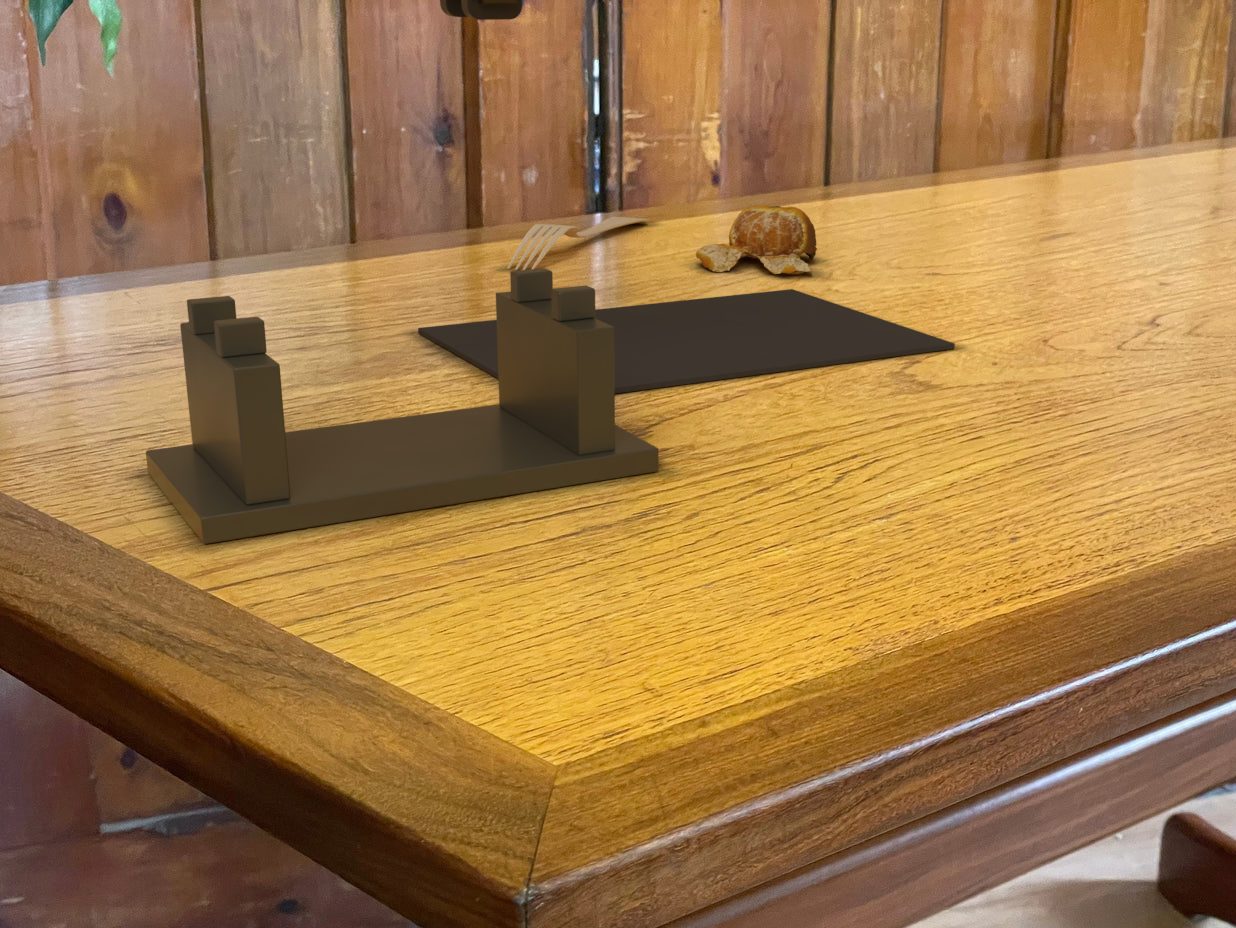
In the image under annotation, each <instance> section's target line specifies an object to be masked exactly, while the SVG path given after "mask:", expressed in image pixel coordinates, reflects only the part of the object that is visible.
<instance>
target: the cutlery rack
mask: <svg viewBox="0 0 1236 928" xmlns="http://www.w3.org/2000/svg"><path fill="white" fill-rule="evenodd" d="M509 274H510V275H509V276H510V279H509V281H510V291H501V292H500V291H499V292H495V312H496V313H495V314H496V320H497V347H498V377H499V379H498V404H489V405H484V406H474V407H468V408H467V407H466V408H460V409H459V408H458V409H454V410H445V411H444V410H443V411H437V412H430V413H423V414H422V413H421V414H413V415H407V416H400V417H398V416H397V417H391V418H385V419H377V420H376V419H375V420H367V421H362V422H353V423H347V424H338V425H330V426H322V427H315V428H308V429H300V430H292V431H286V425H285V424H286V423H285V412H284V402H283V389H282V378H281V364H280V363H279V362H277V361H276V360H274V359H273V358H272V357H271V356H269V355H268V354H267V351H268V350H267V339H266V326H265V321H264V320H263V319H262V318H260V317H259V316H250V317H249V316H247V317H238V318H237V309H236V308H237V307H236V300H235V299H234V298H233V297H231V296H230V295H224V296H223V295H222V296H212V297H201V298H189V299H187V300H186V307H187V317H188V318H187V319H188V321H187V322H181V323H180V337H181V345H182V355H183V365H184V374H185V384H186V393H187V394H186V395H187V405H188V412H189V413H188V415H189V423H190V433H191V443H192V444H185V445H177V446H171V447H162V448H153V449H147V450H145V459H146V468H147V474H148V475H149V477H150V478H151V479H152V480H153V482H154V483H155V484H156V486H157V487H158V488H159V489H160V491H161V492H162V493H163V494H164V496H165V497H166V498H167V499H168V501H169V502H170V504H172V506H173V507H174V508H175V509H176V510H177V512H178V513H179V514H180V516H181V517H182V518H183V520H184V521H185V522H186V523H187V525H188V526H189V527H190V528H191V529H192V531H193V532H194V533H195V535H196V536H197V537H198V539H199V540H200V541H201V542H202V543H203V544H204V545H207V544H214V543H220V542H227V541H233V540H238V539H246V538H251V537H258V536H265V535H270V534H277V533H283V532H290V531H296V530H302V529H308V528H314V527H320V526H326V525H327V526H328V525H333V524H338V523H345V522H346V523H347V522H351V521H358V520H365V519H369V518H376V517H383V516H388V515H393V514H400V513H407V512H413V511H419V510H425V509H426V510H427V509H430V508H439V507H444V506H450V505H458V504H462V503H468V502H469V503H471V502H477V501H482V500H488V499H494V498H501V497H506V496H513V495H519V494H526V493H532V492H537V491H538V492H539V491H544V490H549V489H551V490H552V489H558V488H563V487H568V486H569V487H570V486H574V485H582V484H587V483H595V482H601V481H607V480H613V479H618V478H619V479H620V478H625V477H629V476H630V477H631V476H637V475H645V474H649V473H656V472H657V473H658V471H659V448H658V447H657V446H655V445H653V444H651V443H650V442H648V441H646V440H644V439H642V438H640V437H639V436H637V435H634V434H633V433H632V432H630V431H628V430H626V429H624V428H623V427H620V426H619V425H617V424H616V400H615V399H616V394H615V375H614V327H613V326H611V325H608V324H606V323H604V322H602V321H599V320H597V319H595V310H596V289H595V288H594V287H591V286H589V285H576V286H566V287H565V286H564V287H555V288H554V286H553V281H554V280H553V271H552V270H550V269H548V268H545V267H543V268H540V267H539V268H534V269H531V268H528V269H525V270H523V269H519V270H518V269H517V270H512V271H511V270H510V272H509Z"/></svg>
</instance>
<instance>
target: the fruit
mask: <svg viewBox="0 0 1236 928" xmlns="http://www.w3.org/2000/svg"><path fill="white" fill-rule="evenodd" d="M728 240H729V243H712V244H711V243H710V244H706V245H703V246H701V247H700V248H699V249H698V250H697V251H696V252H695V256H696V258H697V259H699V261H701V264H702V266H703V267H704V268H707V269H708V270H709V271H712V272H717V273H723V272H726V271H728V272H730V269H732V268H733V267H734V266H735V265H736V264H737V263H739V259H740V258H741V255H743V254H744V255H746V256H747V258H750V257H751V258H752V259H758V260H760V263H762V264H763V267H764V268H766V269H767V270H768V271H769V272H770V273H772V274H773V275H777V274H778V275H779V274H781V273H783V274H787V275H801V274H803V273H808V272H811V273H813V272H814V269H813V268H812V267H810V265H809V263H807V262H805V260H802V259H801V256H802V255H803V254H805V255H806V256H807V257H808V260H813V259H814V258H815V256H816V254H817V253H816V252H817V250H818V247H817V237H816V229H815V226H814V223H813V222H812V221H811V219H810V217H809V216H808V215H807V214H806V212H805V211H803V210H802V209H801V208H798V207H795V206H780V205H753V206H748V207H746V208H744V209H742V211H740V213H738V215H737V217H736V218H735V220H734V221H733V223H732V226H731V227H730V230H729V234H728Z"/></svg>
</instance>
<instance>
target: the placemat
mask: <svg viewBox="0 0 1236 928" xmlns="http://www.w3.org/2000/svg"><path fill="white" fill-rule="evenodd" d="M595 319H597V320H599V321H602V322H604V323H606V324H608V325H611V326H613V327H614V375H615V395H616V394H622V393H623V394H624V393H630V392H631V393H632V392H638V391H644V390H645V391H647V390H653V389H661V388H669V387H675V386H683V385H691V384H699V383H706V382H713V381H714V382H715V381H721V380H722V381H723V380H729V379H736V378H743V377H744V378H745V377H751V376H752V377H753V376H758V375H767V374H774V373H781V372H789V371H797V370H805V369H812V368H820V367H825V366H826V367H828V366H835V365H840V364H841V365H842V364H849V363H858V362H864V361H872V360H873V361H874V360H880V359H887V358H894V357H902V356H910V355H916V354H917V355H918V354H925V353H932V352H941V351H947V350H955V347H956V346H955V342H951V341H949V340H945V339H942V338H939V337H937V336H933V335H930V334H927V333H925V332H922V331H918V330H916V329H913V328H911V327H910V328H909V327H908V326H904V325H901V324H898V323H894V322H892V321H888V320H885V319H882V318H879V317H877V316H874V315H871V314H868V313H865V312H861V311H859V310H855V309H853V308H849V307H847V306H844V305H840V304H837V303H835V302H832V301H829V300H826V299H823V298H820V297H817V296H814V295H812V294H811V295H810V294H807V293H805V292H802V291H800V290H799V291H798V290H795V289H793V288H789V289H781V290H780V289H779V290H770V291H761V292H754V293H753V292H752V293H751V292H750V293H742V294H741V293H740V294H734V295H733V294H732V295H722V296H713V297H704V298H703V297H702V298H693V299H683V300H674V301H665V302H655V303H646V304H645V303H644V304H637V305H636V304H634V305H626V306H617V307H607V308H597V309H596V308H595ZM417 333H418V334H419V335H421V336H423V337H425V338H426V339H428V340H430V341H431V342H433V343H435V344H437V345H438V346H440V347H442V348H444V349H445V350H447V351H449V352H450V353H452V354H454V355H455V356H457V357H459V358H461V359H463V360H464V361H466V362H468V363H469V364H471V365H473V366H474V367H476V368H478V369H480V370H481V371H484V373H487V374H489V375H491V376H492V377H493V378H496V379H497V380H499V377H498V347H497V319H490V320H482V321H480V320H479V321H473V322H463V323H461V322H460V323H452V324H444V325H443V324H442V325H434V326H433V325H432V326H423V327H418V328H417Z"/></svg>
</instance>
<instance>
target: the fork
mask: <svg viewBox="0 0 1236 928" xmlns="http://www.w3.org/2000/svg"><path fill="white" fill-rule="evenodd" d="M649 221H650V219H648V218H643V217H642V218H641V217H629V216H628V217H626V216H613V215H612V216H611V217H608V218H606V219H604V220H603V221H601V222H599V223H597V224H595V225H594V226H592V227H590V228H587V229H585V230H583V231H582V228H581V227H578V226H576V225H564V224H549V223H535V224H534V225H532V227H530V229H529V230H528V231H527V232H526V234H525V235H524V237H523V238H522V240H521V241H520V243H519V245H518V247H517V248H516V250H515V252H514V254H513V256H512V258H511V260H510V262H509V263H508V266H507V267H506V269H507V270H510V269H511V267H512V265H513V264H514V263H515V261H516V259H517V258H518V257H519V255H520V254H521V252H522V251H523V249H524V248H525V247H526V246H527V245H528V244H529V245H528V246H527V247H526V249H525V251H524V252H523V254H522V256H521V257H520V260H519V261H518V263H517V265H516V266H515V269H514V270H515V271H517V270H518V269H519V268H520V266H521V265H522V264H523V262H524V261H525V259H526V258H527V256H528V255H529V253H530V252H531V251H532V250H533V251H532V253H531V254H530V256H529V258H528V259H527V260H526V263H525V264H524V266H523V267H522V270H527V268H528V266H529V265H530V263H531V262H532V261H533V259H534V258H535V256H536V255H537V254H538V253H539V251H540V250H541V249H542V248H543V249H542V250H541V252H540V253H539V256H537V259H536V260H535V262H534V263H533V264H532V267H531V268H530V269H536V267H537V266H538V265H539V264H540V262H541V261H542V260H543V258H544V257H545V256H546V255H547V253H548V252H549V251H550V250H551V249H552V247H553V246H554V245H555V244H556V243H557V242H558V240H559V239H560V238H561V237H563V235H564V236H566V237H569V238H576V239H581V238H583V239H585V238H587V237H592V236H594V235H598V234H600V233H604V232H606V231H607V232H608V231H609V230H612V229H617V228H620V227H624V226H628V225H632V224H638V223H639V224H644V223H645V224H647V223H649ZM531 239H532V240H531ZM530 240H531V241H530ZM547 241H548V242H547ZM529 242H530V243H529ZM536 244H537V245H536ZM545 244H546V245H545ZM544 245H545V246H544ZM543 246H544V247H543ZM534 247H535V248H534Z"/></svg>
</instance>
